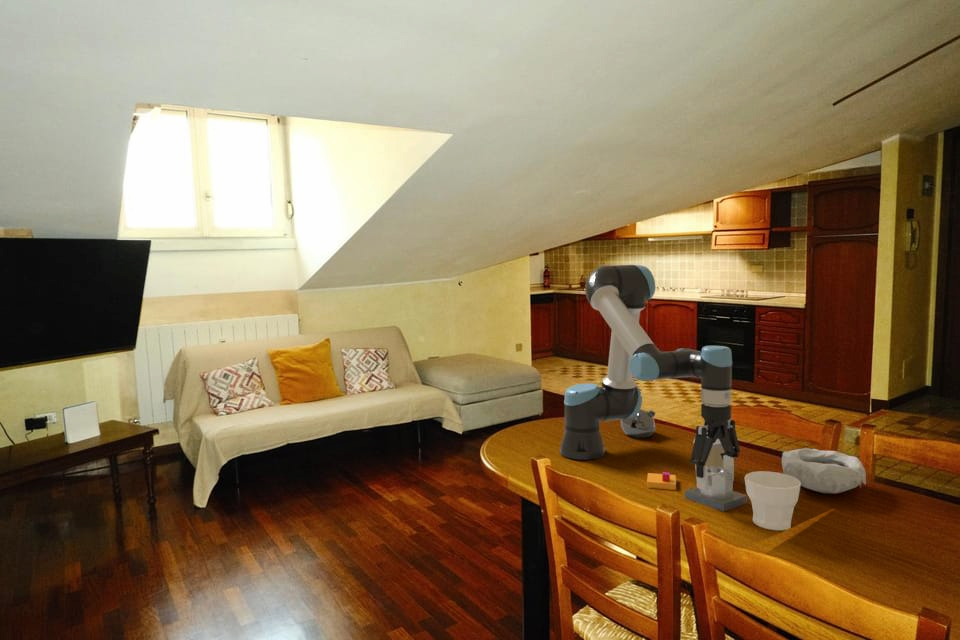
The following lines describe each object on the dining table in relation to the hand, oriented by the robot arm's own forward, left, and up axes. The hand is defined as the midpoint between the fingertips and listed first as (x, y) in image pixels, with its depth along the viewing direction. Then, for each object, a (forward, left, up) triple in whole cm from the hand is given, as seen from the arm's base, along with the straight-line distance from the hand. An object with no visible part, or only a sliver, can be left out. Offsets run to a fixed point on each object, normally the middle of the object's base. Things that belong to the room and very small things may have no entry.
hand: (715, 484), depth 162 cm
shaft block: (0, 0, -4) cm, 4 cm away
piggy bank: (-53, +29, -5) cm, 61 cm away
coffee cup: (-11, +13, -5) cm, 18 cm away
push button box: (-17, -2, -5) cm, 18 cm away
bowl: (+13, +30, -5) cm, 33 cm away
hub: (0, 0, -2) cm, 2 cm away
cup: (+17, -2, -5) cm, 18 cm away
